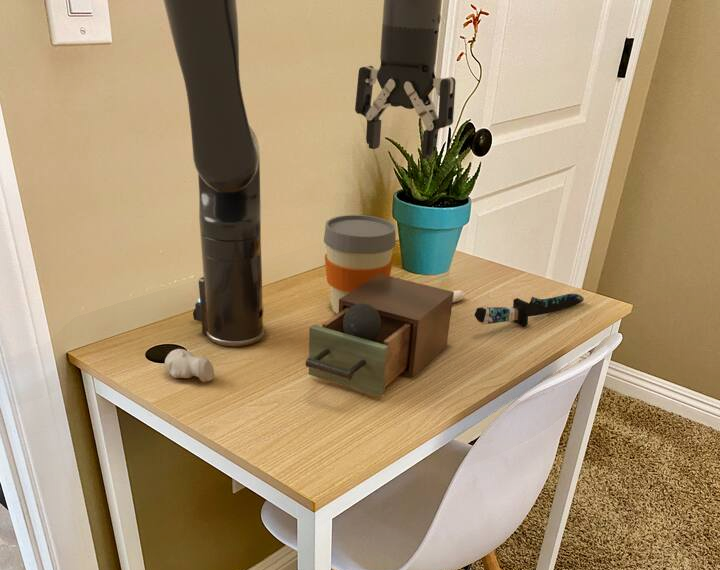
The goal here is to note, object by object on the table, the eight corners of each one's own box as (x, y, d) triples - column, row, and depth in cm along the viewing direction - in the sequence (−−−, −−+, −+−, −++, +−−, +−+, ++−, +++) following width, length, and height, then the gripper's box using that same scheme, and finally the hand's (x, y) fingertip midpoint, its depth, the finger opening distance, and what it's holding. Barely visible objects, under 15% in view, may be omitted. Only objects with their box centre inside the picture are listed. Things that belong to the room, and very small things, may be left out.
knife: (475, 334, 128) (481, 309, 125) (463, 327, 130) (469, 302, 127) (589, 317, 145) (597, 295, 142) (578, 312, 147) (585, 289, 144)
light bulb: (342, 357, 117) (345, 295, 111) (378, 359, 116) (382, 298, 111) (339, 374, 112) (342, 311, 106) (377, 376, 112) (382, 313, 106)
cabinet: (412, 378, 116) (418, 320, 111) (336, 355, 121) (338, 299, 116) (446, 346, 126) (454, 291, 121) (375, 326, 131) (379, 273, 126)
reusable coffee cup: (392, 298, 142) (399, 217, 133) (387, 325, 132) (394, 240, 123) (327, 292, 143) (329, 211, 134) (317, 318, 133) (318, 233, 124)
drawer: (363, 413, 105) (367, 363, 101) (289, 389, 110) (289, 340, 105) (417, 365, 118) (422, 318, 114) (348, 345, 123) (350, 299, 118)
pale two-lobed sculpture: (161, 380, 114) (184, 360, 116) (199, 396, 110) (221, 375, 113) (151, 358, 111) (175, 338, 113) (189, 374, 107) (213, 353, 109)
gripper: (350, 18, 99) (344, 149, 108) (448, 29, 94) (434, 166, 103) (376, 16, 104) (369, 141, 114) (471, 26, 99) (455, 156, 109)
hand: (400, 153), depth 109 cm, fingers open, 8 cm apart
